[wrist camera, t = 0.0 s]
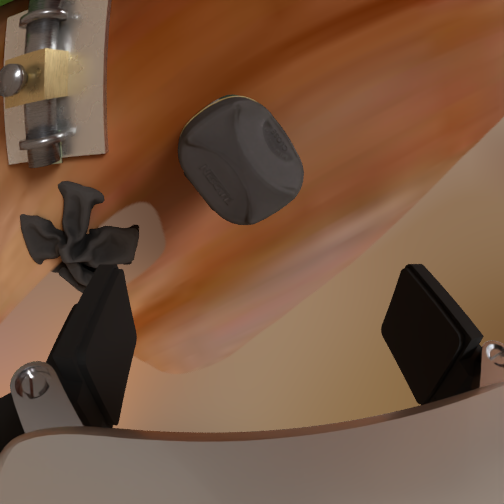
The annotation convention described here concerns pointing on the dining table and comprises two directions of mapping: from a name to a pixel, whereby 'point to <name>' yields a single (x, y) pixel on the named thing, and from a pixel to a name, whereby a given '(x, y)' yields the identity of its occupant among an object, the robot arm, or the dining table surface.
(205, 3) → the dining table surface
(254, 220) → the coffee jar
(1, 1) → the speaker
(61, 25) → the valve pipe
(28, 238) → the cloth
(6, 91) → the lever
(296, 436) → the robot arm
